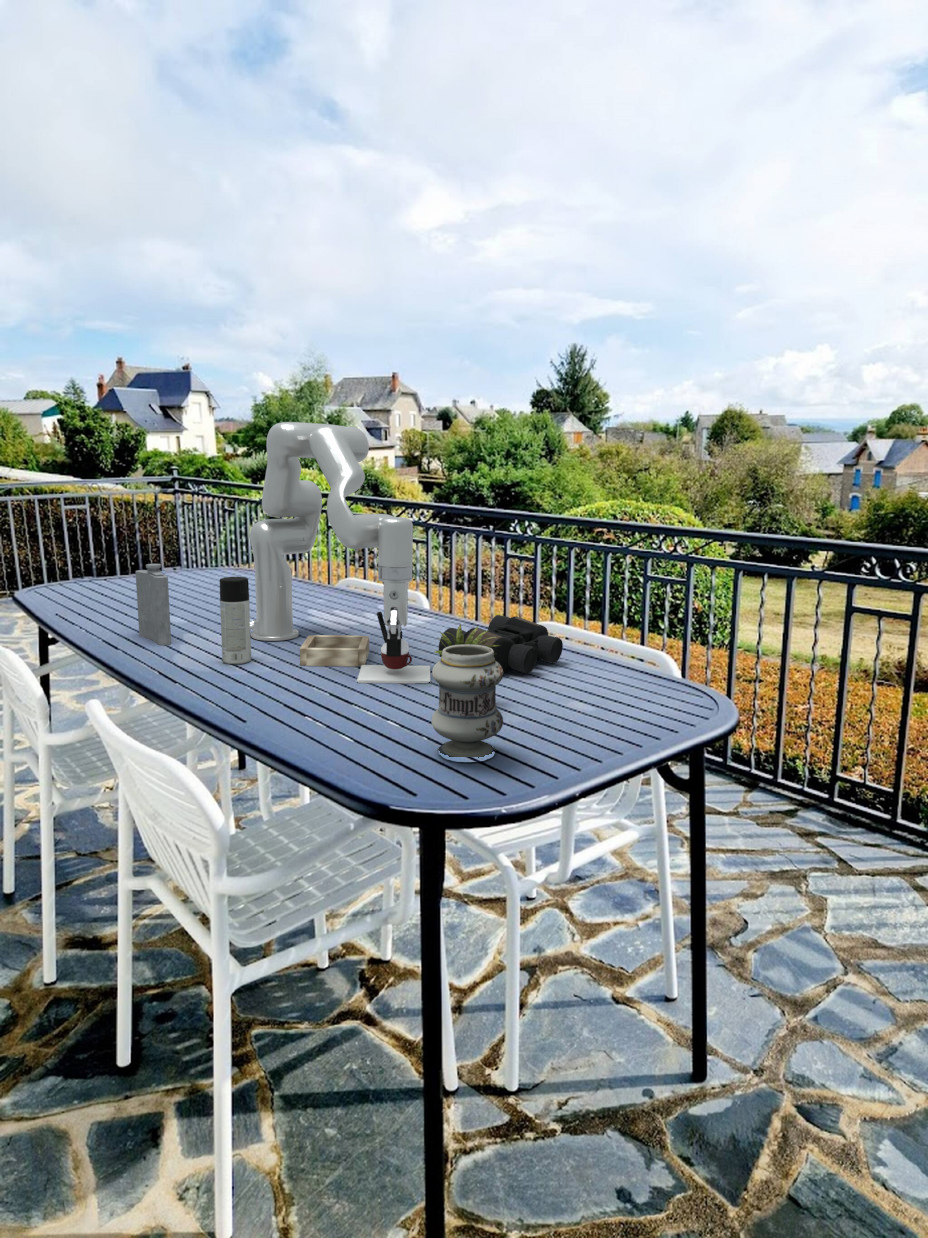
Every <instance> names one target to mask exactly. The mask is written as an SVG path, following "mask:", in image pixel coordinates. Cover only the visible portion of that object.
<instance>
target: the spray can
mask: <svg viewBox="0 0 928 1238" xmlns="http://www.w3.org/2000/svg"><path fill="white" fill-rule="evenodd" d="M249 588H250V586H249V577H245V576H226V577H221V578H220V579H219V608H220V610H219V611H220V629H221V630H220V633H221V634H220V635H221V655H222V656H221V658H222V662H223V663H224V664H227V665H229V664H230V665H241V664H247V663H249V662H251V660H252V645H251V644H252V641H251V639H252V637H251V629H250V622H251V618H250V617H251V613H250V612H251V611H250V589H249Z"/></svg>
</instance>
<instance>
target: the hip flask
mask: <svg viewBox="0 0 928 1238" xmlns="http://www.w3.org/2000/svg"><path fill="white" fill-rule="evenodd" d="M145 568H146V569H141V570H140V569H139V570H135V585H136V586H135V587H136V588H135V589H136V602H137V603H136V604H137V618H138V634H139V635H138V636H139V637H142V638H145V639H148V640H151V641H153V642H154V643H156V644H157V645H159V646H170V645H171V644H172V636H171V635H172V634H171V633H172V632H171V613H170V611H171V610H170V595H169V594H170V592H169V576H168V575H166V574H165V573H162V572H161V569H160V568H162V565H161V563H148V564H145Z"/></svg>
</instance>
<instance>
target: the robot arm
mask: <svg viewBox="0 0 928 1238" xmlns="http://www.w3.org/2000/svg"><path fill="white" fill-rule="evenodd" d="M369 450H370V445H369V440H368V438H367V436H366V434H365V433H364V431H363V430H361V429H360V428H358V427H356V426H355V427H354V426H344V425H337V424H332V423H331V424H330V423H329V424H328V423H315V422H313V423H312V422H300V421H299V422H298V421H297V422H295V421H282V422H278V423H276V424H274V425H272V427H271V428H270V429H269V431H268V433H267V438H266V456H267V463H266V464H267V465H266V470H265V477H264V483H263V489H262V497H261V507H262V510H263V512H264V513H265V514H266V515H268V516H270V517H273V518H272V519H271V518H269V519H263V520H259V521H258V522H257V521H256V522H255V523H254V524H253V525H252V526H251V528H250V532H249V539H250V541H249V542H250V546H251V551H252V554H253V555H252V556H253V562H254V563H253V564H254V580H255V581H254V583H255V614H256V616H255V617H256V618H255V620H252V621H250V630H252V631H250V637H251V639H252V638H253V639H255V640H257V641H258V640H259V641H265V642H267V641H268V642H278V641H279V642H280V641H286V640H287V641H288V640H292V639H296V638H298V637H299V630H297V629H296V628H293V627H294V624H293V623H294V622H293V621H294V620H293V618H294V617H293V579H292V577H293V576H292V575H293V574H292V570H291V567H290V565H289V563H288V562H287V560H286V559H285V557H284V555H286V556H287V555H294V554H296V555H298V554H304V553H308V552H309V551H311V550H312V549H313V547H314V545H315V543H316V539H317V534H318V529H319V524H320V519H321V518H320V517H321V513H322V507H323V496H322V492H321V490H320V488H319V486H318V485H317V484H316V483H315V482H314V481H312V480H308V479H305V480H304V479H303V480H302V479H300V478H301V472H302V465H301V461H300V460H299V458H300V459H301V458H302V459H315V461H316V463H317V464H318V467H319V468H320V470H321V471H322V474H323V476H324V477H325V480H326V482H327V484H328V485H329V487H330V491H329V493H328V495H327V501H326V513H327V520H328V522H329V524H330V526H331V528H332V530H333V532H334V534H335V536H336V538H337V539H338V541H339V542H340V543H341V544H342V545H343V546H344V547H345V548H347V549H353V550H356V549H357V550H358V549H359V550H360V549H370V548H371V549H372V548H373V549H374V548H378V549H377V551H378V552H377V553H378V555H377V557H378V562H377V563H378V565H377V566H378V567H377V580H378V581H379V582H382V583H383V592H382V593H383V615H384V616H383V619H384V623H385V626H386V627H387V633H388V638H387V650H386V655H387V656H390V657H400V656H401V639H403V631H402V626H403V627H406V626H407V625H408V619H409V618H408V611H409V610H408V609H409V606H408V605H409V602H408V601H409V599H408V597H409V591H408V590H409V589H408V587H409V586H408V583H410V582H412V581H413V551H414V550H413V547H414V546H413V544H414V543H413V538H414V536H413V535H414V534H413V533H414V529H413V527H414V525H413V522H412V520H411V519H410V518H407V517H399V516H393V515H391V514H386V513H373V514H372V513H368V514H367V513H366V514H365V513H364V514H362V513H361V514H353V512H352V510H351V509H350V507H349V505H348V503H347V500H346V497H349V496H350V495H352V494H354V493H356V492H357V490H359V489H360V488H361V487H362V486H363V483H364V482H365V479H366V475H365V472H364V470H363V468H362V467H361V465H360V462H363V461H364V460H365V459H367V456H368V454H369ZM400 638H401V639H400Z"/></svg>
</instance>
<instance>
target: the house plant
mask: <svg viewBox="0 0 928 1238" xmlns="http://www.w3.org/2000/svg"><path fill="white" fill-rule="evenodd" d="M474 628H475V629H474V630H473V632H472V633H471V634H470V635H469V637H468V638H467V640H466V642H465V644H464V645H466V644H467V645H468V644H469V645H476V644H477V643H478V642H479V641H480V640H481V638H482V636H483V635H484V634H485V633H486V632H487V630H488V629H487V630H486V631H485V632H483V633H481V634H480V635H478V636H477V637H476V639H474V640H472V638H473V636H474V633H475V632H476V630H477V628H479V625H477V626H476V627H474ZM456 629H457V634H456V639H455V637H454V636H453V635H452V634H451V633H449V634H451V635H452V637H453V638H454V640H455V645H463V642H464V636H463V633H462V630H463V629H462V623H459V625H458V628H456ZM488 631H489V630H488ZM439 633H440V636H442V637H443V638H442V639H443V640H444V641H445V642H446V643H447V644H448V646H453V645H452V643H451V641H450V640H449V639H448V638H447V636H446V635H444V634H443V633H444V632H441V631H439ZM446 633H448V632H446ZM491 638H496V637H491ZM487 639H490V638H487ZM487 639H485V640H487ZM436 640H439V642H440V641H441V640H440V637H436ZM485 640H483V641H485ZM483 641H481V642H483ZM441 642H442V641H441ZM481 642H480V643H481ZM486 642H492V641H486ZM486 642H483V643H482V644H484V643H486ZM442 643H443V642H442ZM478 644H479V643H478ZM478 644H477V645H478ZM482 644H481V645H482ZM443 645H444V644H443ZM444 646H445V645H444ZM494 646H500V645H487V646H486V647H494ZM445 647H446V646H445ZM433 653H436V654H438V655H439V656H440V655H442V651H440V650H439V649H438V650H435V651H433Z"/></svg>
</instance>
